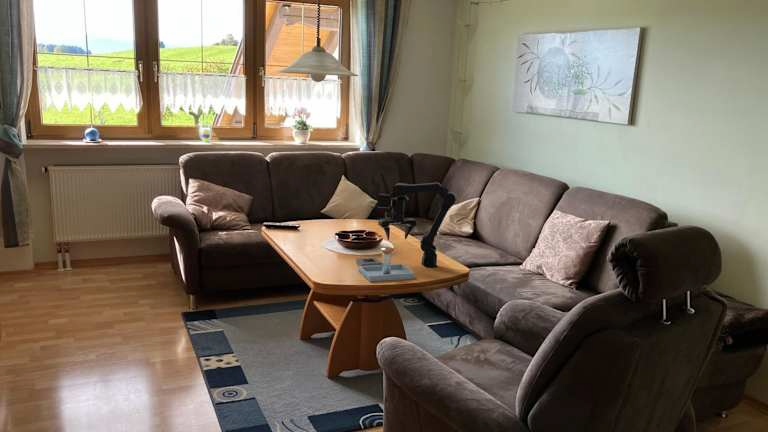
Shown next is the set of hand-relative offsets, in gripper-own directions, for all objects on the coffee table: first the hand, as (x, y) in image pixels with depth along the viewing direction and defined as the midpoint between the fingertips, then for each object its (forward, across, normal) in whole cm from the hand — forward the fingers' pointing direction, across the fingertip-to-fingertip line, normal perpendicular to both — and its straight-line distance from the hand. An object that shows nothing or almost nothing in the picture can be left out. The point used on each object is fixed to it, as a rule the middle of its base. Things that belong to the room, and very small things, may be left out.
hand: (396, 239), depth 310 cm
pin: (+11, +12, +19) cm, 25 cm away
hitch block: (+12, +15, +2) cm, 19 cm away
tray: (+12, +12, +19) cm, 25 cm away
